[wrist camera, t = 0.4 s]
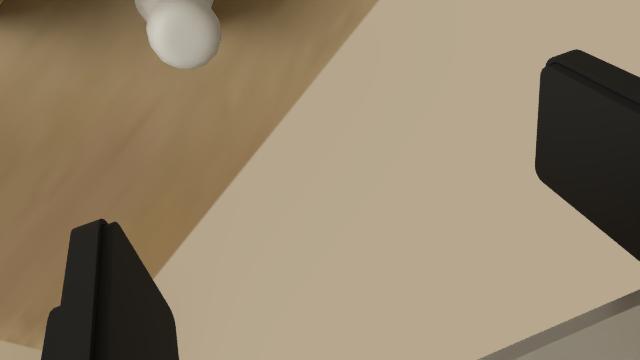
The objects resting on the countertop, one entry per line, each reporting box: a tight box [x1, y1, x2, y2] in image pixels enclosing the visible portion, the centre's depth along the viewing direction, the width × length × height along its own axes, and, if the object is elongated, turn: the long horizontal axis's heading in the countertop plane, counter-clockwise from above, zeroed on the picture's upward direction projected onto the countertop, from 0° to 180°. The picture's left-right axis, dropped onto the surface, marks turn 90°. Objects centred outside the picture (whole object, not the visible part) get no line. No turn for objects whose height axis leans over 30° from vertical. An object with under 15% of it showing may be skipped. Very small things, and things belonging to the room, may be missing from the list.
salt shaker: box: [134, 0, 221, 69], centre depth 35 cm, size 6×6×13 cm
